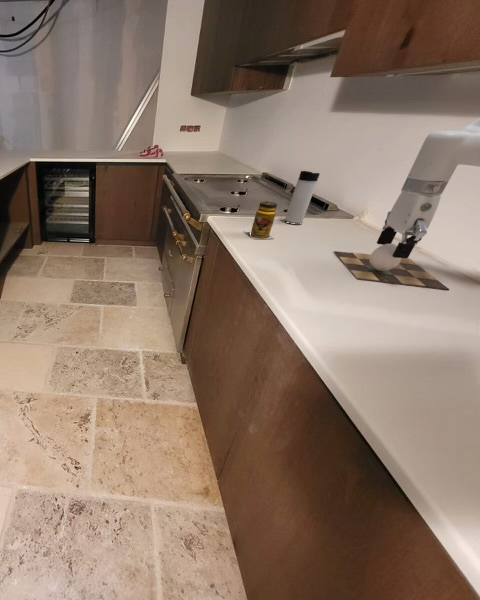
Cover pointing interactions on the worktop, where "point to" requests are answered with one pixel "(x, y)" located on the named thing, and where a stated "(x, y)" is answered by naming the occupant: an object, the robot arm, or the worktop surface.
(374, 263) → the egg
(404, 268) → the checkerboard
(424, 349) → the worktop surface
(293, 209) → the travel mug
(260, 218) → the condiment
